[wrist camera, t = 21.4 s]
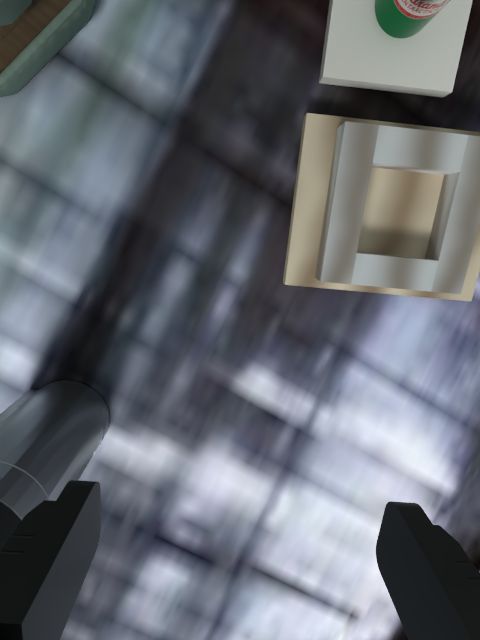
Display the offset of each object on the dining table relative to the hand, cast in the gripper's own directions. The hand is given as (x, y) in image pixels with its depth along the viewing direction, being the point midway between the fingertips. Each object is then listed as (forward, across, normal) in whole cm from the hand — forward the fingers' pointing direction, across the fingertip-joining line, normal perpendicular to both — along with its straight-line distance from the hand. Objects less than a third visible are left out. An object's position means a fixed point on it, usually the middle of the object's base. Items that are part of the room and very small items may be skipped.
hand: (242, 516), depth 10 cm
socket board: (+30, -15, -10) cm, 35 cm away
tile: (+30, -12, -27) cm, 42 cm away
